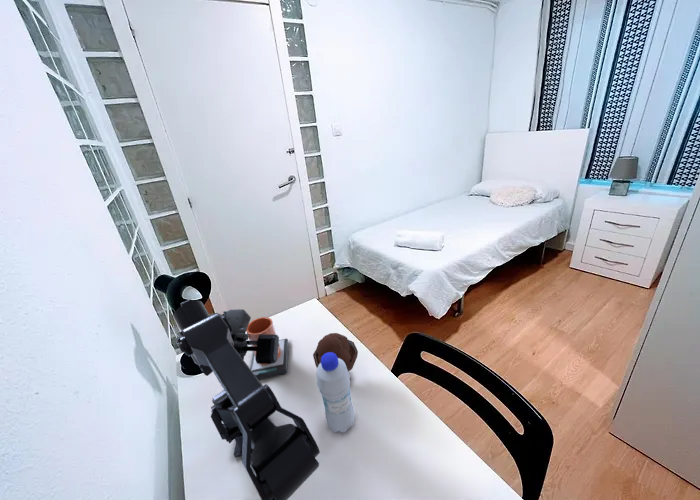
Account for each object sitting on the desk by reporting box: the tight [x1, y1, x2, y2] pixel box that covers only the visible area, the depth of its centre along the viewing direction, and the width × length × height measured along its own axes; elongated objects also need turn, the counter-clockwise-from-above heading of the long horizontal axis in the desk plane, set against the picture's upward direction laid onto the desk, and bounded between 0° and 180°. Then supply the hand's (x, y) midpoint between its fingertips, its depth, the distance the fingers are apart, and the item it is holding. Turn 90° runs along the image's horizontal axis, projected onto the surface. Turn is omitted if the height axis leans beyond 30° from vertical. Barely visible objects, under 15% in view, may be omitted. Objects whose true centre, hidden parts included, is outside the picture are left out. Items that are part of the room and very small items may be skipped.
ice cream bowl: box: [312, 332, 359, 381], centre depth 69 cm, size 11×11×15 cm
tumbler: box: [246, 316, 281, 365], centre depth 78 cm, size 7×7×11 cm
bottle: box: [316, 352, 355, 434], centre depth 58 cm, size 7×7×20 cm
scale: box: [249, 338, 289, 380], centre depth 80 cm, size 12×10×2 cm
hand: (255, 348), depth 72 cm, fingers open, 9 cm apart
